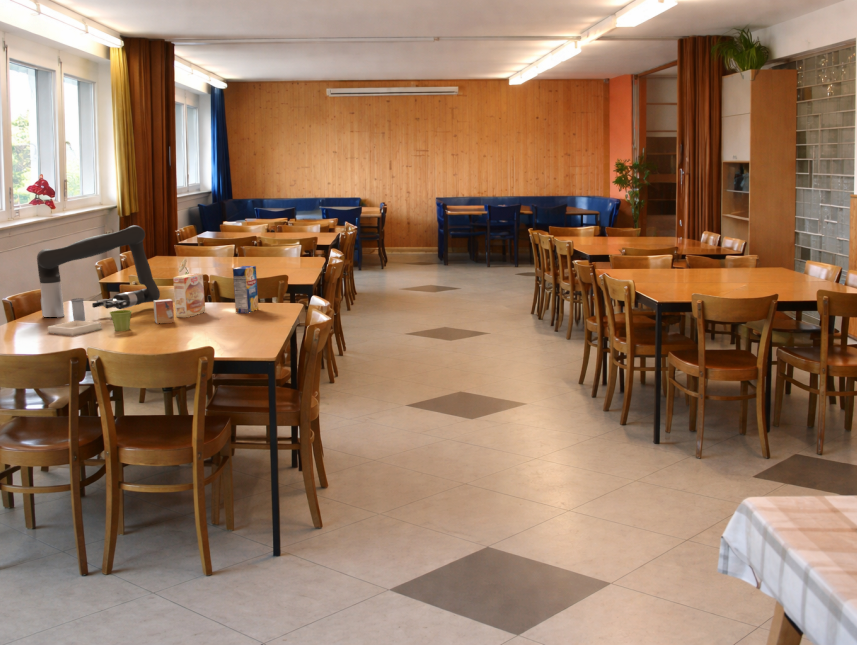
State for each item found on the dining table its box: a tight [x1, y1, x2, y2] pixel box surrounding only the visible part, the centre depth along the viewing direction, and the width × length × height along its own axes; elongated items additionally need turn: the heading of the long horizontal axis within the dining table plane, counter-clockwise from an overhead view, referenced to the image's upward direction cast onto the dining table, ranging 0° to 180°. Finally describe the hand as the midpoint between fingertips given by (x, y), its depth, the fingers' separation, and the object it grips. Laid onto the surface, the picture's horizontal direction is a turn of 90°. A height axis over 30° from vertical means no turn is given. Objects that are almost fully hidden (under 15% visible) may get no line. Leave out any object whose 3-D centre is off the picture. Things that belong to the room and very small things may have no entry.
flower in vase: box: [177, 258, 190, 275], centre depth 421 cm, size 13×11×25 cm
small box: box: [152, 298, 175, 325], centre depth 378 cm, size 8×6×10 cm
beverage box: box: [232, 265, 259, 314], centre depth 401 cm, size 7×11×22 cm, turn 165°
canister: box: [70, 297, 86, 321], centre depth 377 cm, size 5×5×12 cm
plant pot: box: [109, 309, 133, 332], centre depth 360 cm, size 9×9×9 cm
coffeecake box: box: [172, 273, 206, 318], centre depth 395 cm, size 15×7×20 cm, turn 160°
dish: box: [47, 320, 102, 337], centre depth 359 cm, size 15×15×3 cm
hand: (99, 305), depth 387 cm, fingers open, 8 cm apart
